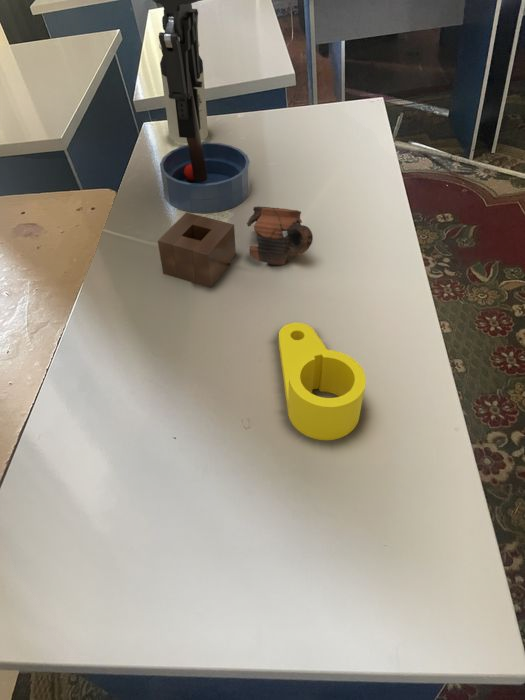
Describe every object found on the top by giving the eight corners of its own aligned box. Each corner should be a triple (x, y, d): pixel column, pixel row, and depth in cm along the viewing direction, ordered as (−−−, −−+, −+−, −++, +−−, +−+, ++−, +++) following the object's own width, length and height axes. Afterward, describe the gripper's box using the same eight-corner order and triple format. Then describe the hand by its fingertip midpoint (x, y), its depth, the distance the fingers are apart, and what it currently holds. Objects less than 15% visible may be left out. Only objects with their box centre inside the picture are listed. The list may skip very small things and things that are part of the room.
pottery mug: (231, 258, 89) (236, 204, 87) (269, 257, 96) (274, 207, 94) (293, 270, 82) (299, 211, 79) (329, 267, 89) (335, 213, 87)
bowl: (148, 205, 99) (142, 173, 95) (191, 166, 109) (188, 136, 104) (225, 225, 94) (223, 193, 90) (263, 183, 104) (263, 151, 100)
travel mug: (168, 131, 119) (156, 37, 106) (206, 128, 120) (198, 35, 107) (171, 148, 114) (158, 52, 101) (210, 145, 115) (203, 49, 102)
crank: (369, 432, 65) (377, 398, 60) (299, 446, 63) (301, 413, 59) (321, 327, 77) (325, 292, 73) (261, 337, 76) (261, 303, 71)
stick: (191, 180, 101) (171, 74, 88) (199, 174, 102) (180, 69, 90) (202, 183, 100) (182, 76, 87) (210, 177, 101) (192, 71, 88)
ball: (186, 185, 102) (180, 174, 104) (202, 183, 103) (196, 172, 105) (187, 172, 100) (181, 161, 101) (203, 170, 101) (197, 159, 102)
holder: (162, 274, 85) (157, 240, 81) (189, 244, 91) (186, 212, 86) (211, 288, 83) (207, 254, 79) (236, 257, 88) (234, 224, 84)
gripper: (185, -18, 73) (200, 155, 89) (212, -45, 83) (221, 115, 100) (129, -21, 73) (155, 152, 90) (163, -47, 84) (180, 112, 101)
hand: (190, 132), depth 95 cm, fingers closed on stick, 2 cm apart
